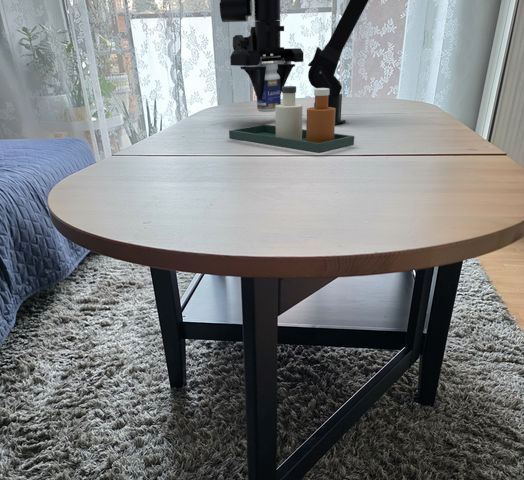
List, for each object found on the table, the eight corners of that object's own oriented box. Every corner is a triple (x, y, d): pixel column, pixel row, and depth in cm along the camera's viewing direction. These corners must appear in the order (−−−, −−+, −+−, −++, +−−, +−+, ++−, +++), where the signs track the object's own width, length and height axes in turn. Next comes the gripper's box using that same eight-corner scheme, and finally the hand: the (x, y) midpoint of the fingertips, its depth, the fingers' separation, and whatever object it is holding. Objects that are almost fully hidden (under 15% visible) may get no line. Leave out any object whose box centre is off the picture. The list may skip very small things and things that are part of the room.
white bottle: (288, 137, 103) (288, 85, 98) (307, 140, 100) (308, 86, 95) (270, 141, 100) (269, 87, 95) (289, 144, 97) (289, 88, 92)
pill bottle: (271, 112, 119) (269, 64, 114) (252, 111, 122) (249, 64, 117) (285, 109, 123) (284, 62, 118) (266, 108, 126) (264, 62, 121)
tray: (264, 134, 111) (264, 124, 110) (353, 147, 96) (354, 136, 95) (229, 141, 105) (228, 130, 104) (318, 156, 90) (319, 143, 89)
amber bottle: (318, 142, 98) (320, 86, 93) (339, 145, 95) (342, 88, 90) (300, 146, 95) (301, 89, 90) (321, 149, 92) (323, 90, 87)
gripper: (271, 22, 123) (272, 93, 132) (212, 22, 113) (217, 100, 121) (305, 20, 117) (304, 95, 125) (246, 20, 106) (249, 103, 114)
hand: (268, 98), depth 121 cm, fingers closed on pill bottle, 6 cm apart
